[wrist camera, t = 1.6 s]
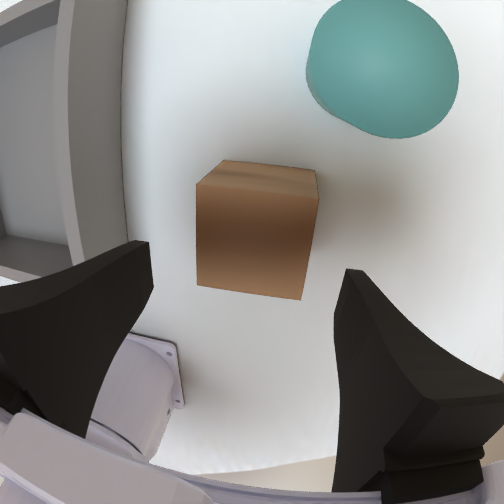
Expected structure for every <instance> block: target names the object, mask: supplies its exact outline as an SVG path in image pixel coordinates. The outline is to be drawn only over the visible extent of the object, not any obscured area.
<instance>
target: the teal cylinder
mask: <svg viewBox="0 0 504 504" xmlns="http://www.w3.org/2000/svg"><path fill="white" fill-rule="evenodd" d="M306 79H307V83H308V87H309V89H310V92H311V94H312V95H313V97H314V99H315V100H316V101H317V103H318V104H319V105H320V106H321V107H322V108H323V109H325V110H326V111H327V112H329V113H330V114H332V115H334V116H336V117H338V118H340V119H342V120H344V121H345V122H347V123H349V124H351V125H353V126H355V127H357V128H359V129H361V130H362V131H365V132H367V133H370V134H372V135H376V136H380V137H385V138H398V139H401V138H410V137H413V136H417V135H420V134H423V133H425V132H427V131H429V130H430V129H432V128H434V127H435V126H436V125H437V124H439V123H440V122H441V121H442V120H443V119H444V117H445V116H446V115H447V114H448V112H449V111H450V109H451V107H452V105H453V103H454V101H455V97H456V94H457V90H458V82H459V72H458V64H457V60H456V56H455V53H454V50H453V47H452V45H451V43H450V41H449V39H448V37H447V36H446V34H445V32H444V31H443V29H442V28H441V27H440V26H439V25H438V23H437V22H436V21H435V20H434V19H433V18H432V17H431V16H430V15H429V14H427V13H426V12H425V11H424V10H422V9H421V8H420V7H418V6H416V5H415V4H413V3H411V2H409V1H407V0H341V1H339V2H338V3H336V4H335V5H334V6H332V7H331V8H330V9H329V10H328V11H327V12H326V13H325V14H324V15H323V17H322V18H321V19H320V21H319V23H318V25H317V27H316V29H315V31H314V35H313V38H312V42H311V47H310V51H309V56H308V61H307V66H306Z"/></svg>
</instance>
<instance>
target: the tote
mask: <svg viewBox="0 0 504 504" xmlns="http://www.w3.org/2000/svg"><path fill="white" fill-rule="evenodd" d="M127 1H128V0H23V1H21V2H19V3H17V4H15V5H13V6H11V7H10V8H8V9H6V10H4V11H2V12H1V13H0V276H2V277H6V278H9V279H12V280H15V281H18V282H21V283H22V282H26V281H30V280H34V279H38V278H41V277H45V276H48V275H51V274H54V273H57V272H60V271H62V270H65V269H68V268H70V267H72V266H75V265H77V264H79V263H82V262H84V261H86V260H89V259H91V258H93V257H96V256H98V255H100V254H102V253H104V252H106V251H109V250H111V249H113V248H115V247H118V246H120V245H122V244H125V243H127V242H128V237H127V228H126V218H125V207H124V194H123V179H122V160H121V71H122V53H123V40H124V28H125V18H126V9H127Z"/></svg>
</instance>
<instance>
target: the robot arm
mask: <svg viewBox="0 0 504 504" xmlns="http://www.w3.org/2000/svg"><path fill="white" fill-rule="evenodd" d="M153 288H154V285H153V277H152V268H151V258H150V248H149V242H145V241H138V240H134V241H130V242H127V243H125V244H122V245H120V246H118V247H115V248H113V249H111V250H109V251H106V252H104V253H102V254H100V255H98V256H96V257H93V258H91V259H89V260H86V261H84V262H82V263H79V264H77V265H75V266H72V267H70V268H68V269H65V270H62V271H60V272H57V273H54V274H51V275H48V276H45V277H41V278H38V279H34V280H30V281H26V282H22V283H18V284H12V285H7V286H1V287H0V475H1V476H2V477H3V478H5V479H4V481H3V483H2V485H1V487H0V504H504V460H500V461H497V462H493V463H490V464H488V465H486V466H484V467H482V468H481V465H480V460H479V459H482V458H483V457H484V455H485V453H484V450H483V445H484V444H485V443H486V442H487V441H488V440H489V439H490V438H491V437H492V436H493V435H494V434H495V433H496V432H497V431H498V430H499V429H500V428H501V427H502V426H503V425H504V383H503V382H502V381H500V380H498V379H496V378H494V377H492V376H490V375H488V374H485V373H483V372H481V371H479V370H477V369H475V368H473V367H472V366H470V365H468V364H466V363H465V362H463V361H461V360H460V359H458V358H457V357H455V356H453V355H452V354H450V353H449V352H447V351H446V350H445V349H443V348H442V347H440V346H439V345H438V344H436V343H435V342H434V341H432V340H431V339H430V338H428V337H427V336H426V335H425V334H424V333H423V332H421V331H420V330H419V329H418V328H417V327H415V326H414V325H413V324H412V323H411V322H410V321H409V320H408V319H407V318H406V317H405V316H404V315H403V314H402V313H401V312H400V311H399V310H398V309H397V308H396V307H395V306H394V305H393V304H392V303H391V302H390V300H389V299H388V298H387V297H386V296H385V295H384V294H383V293H382V292H381V290H380V289H379V288H378V287H377V286H376V285H375V284H374V282H373V281H372V280H371V279H370V278H369V277H368V276H367V275H366V273H365V272H363V271H362V270H354V269H347V268H346V271H345V275H344V278H343V282H342V286H341V290H340V294H339V297H338V301H337V305H336V308H335V312H334V344H335V353H336V361H337V370H338V379H339V389H340V415H339V433H338V446H337V457H336V465H335V473H334V480H333V486H332V492H331V493H329V492H328V493H327V492H302V491H288V490H277V489H268V488H260V487H252V486H245V485H238V484H233V483H227V482H222V481H217V480H212V479H207V478H202V477H198V476H194V475H189V474H185V473H181V472H178V471H174V470H170V469H167V468H163V467H160V466H156V465H153V464H150V463H149V460H150V459H151V458H152V457H153V456H154V455H155V454H156V452H157V450H158V447H159V445H160V442H161V439H162V437H163V434H164V431H165V429H166V426H167V423H168V421H169V418H170V416H171V413H172V410H173V408H178V409H183V408H184V400H183V394H182V388H181V381H180V374H179V367H178V360H177V353H176V347H175V346H174V345H173V344H172V343H169V342H164V341H160V340H155V339H151V338H147V337H142V336H138V335H134V334H130V333H129V332H130V330H131V328H132V327H133V325H134V324H135V322H136V321H137V319H138V317H139V316H140V314H141V313H142V311H143V309H144V308H145V306H146V304H147V301H148V299H149V297H150V295H151V292H152V290H153ZM170 352H171V353H170Z"/></svg>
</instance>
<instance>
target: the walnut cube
mask: <svg viewBox="0 0 504 504" xmlns="http://www.w3.org/2000/svg"><path fill="white" fill-rule="evenodd" d="M318 203H319V194H318V188H317V182H316V177H315V171H314V170H309V169H301V168H294V167H286V166H277V165H269V164H259V163H250V162H239V161H228V160H223V161H222V162H221V163H220V164H219V165H217V166H216V167H215V168H214V169H213V170H212V171H211V172H210V173H208V174H207V175H206V176H205V177H204V178H203V179H202V180H201V181H199V182H198V183H197V184H196V265H197V285H199V286H205V287H211V288H217V289H224V290H230V291H237V292H244V293H250V294H257V295H264V296H271V297H279V298H286V299H293V300H301V298H302V293H303V288H304V283H305V277H306V272H307V267H308V261H309V256H310V250H311V245H312V239H313V233H314V227H315V222H316V215H317V209H318Z"/></svg>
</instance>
